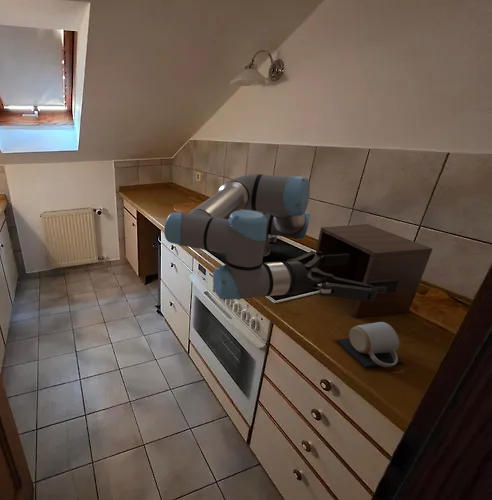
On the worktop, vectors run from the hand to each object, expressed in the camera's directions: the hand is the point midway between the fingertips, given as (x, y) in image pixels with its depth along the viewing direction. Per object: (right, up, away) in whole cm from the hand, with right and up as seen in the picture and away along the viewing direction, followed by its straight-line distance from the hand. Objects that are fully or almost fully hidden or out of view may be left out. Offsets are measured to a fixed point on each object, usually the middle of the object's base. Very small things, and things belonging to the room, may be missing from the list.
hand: (369, 270), depth 69 cm
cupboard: (+21, -11, +36) cm, 43 cm away
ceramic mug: (+8, -22, +9) cm, 25 cm away
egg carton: (+13, +10, +88) cm, 89 cm away
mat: (+7, -23, +10) cm, 26 cm away
